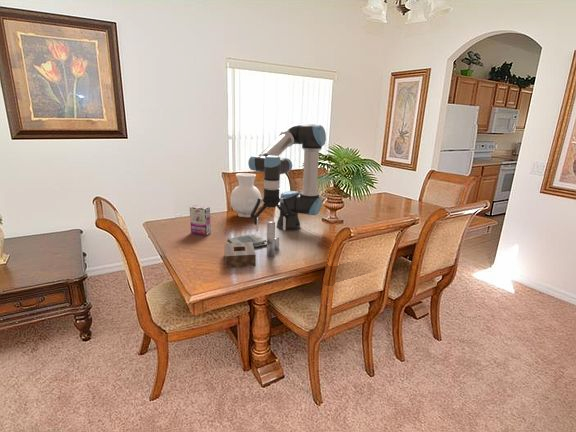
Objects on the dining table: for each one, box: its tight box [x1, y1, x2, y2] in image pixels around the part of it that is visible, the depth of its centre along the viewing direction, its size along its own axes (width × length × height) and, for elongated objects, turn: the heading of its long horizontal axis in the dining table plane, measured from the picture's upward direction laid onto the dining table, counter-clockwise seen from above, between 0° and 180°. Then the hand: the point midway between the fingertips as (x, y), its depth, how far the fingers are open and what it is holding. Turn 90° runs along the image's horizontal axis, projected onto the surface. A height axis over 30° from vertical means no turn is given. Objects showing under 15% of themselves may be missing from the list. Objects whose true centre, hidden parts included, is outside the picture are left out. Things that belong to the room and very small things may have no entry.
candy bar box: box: [189, 205, 212, 237], centre depth 197 cm, size 11×5×16 cm, turn 70°
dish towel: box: [227, 233, 267, 250], centre depth 186 cm, size 19×18×3 cm
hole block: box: [224, 242, 257, 269], centre depth 164 cm, size 14×16×6 cm
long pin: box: [266, 220, 276, 258], centre depth 168 cm, size 4×4×18 cm
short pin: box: [275, 236, 280, 251], centre depth 179 cm, size 4×4×6 cm
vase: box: [230, 172, 263, 218], centre depth 232 cm, size 19×21×30 cm
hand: (270, 230), depth 166 cm, fingers open, 13 cm apart
